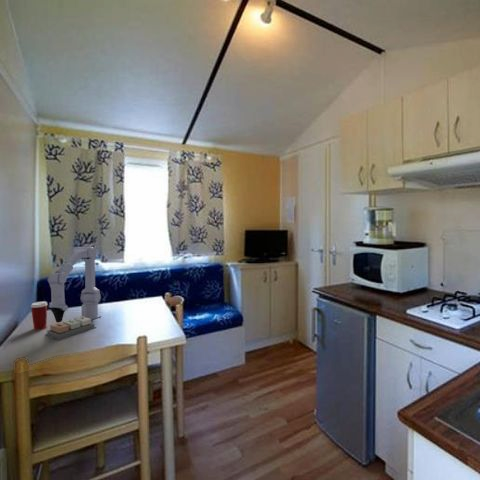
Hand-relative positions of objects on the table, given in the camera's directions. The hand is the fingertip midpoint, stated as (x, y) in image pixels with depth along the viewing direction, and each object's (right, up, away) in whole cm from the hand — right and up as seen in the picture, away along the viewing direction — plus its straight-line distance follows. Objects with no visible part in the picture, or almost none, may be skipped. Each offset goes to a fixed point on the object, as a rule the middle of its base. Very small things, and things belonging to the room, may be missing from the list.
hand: (59, 321), depth 148 cm
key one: (+6, -4, +10) cm, 13 cm away
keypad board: (+3, -7, +6) cm, 9 cm away
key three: (0, -4, 0) cm, 4 cm away
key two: (+3, -4, +5) cm, 7 cm away
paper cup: (-17, -7, +10) cm, 20 cm away
